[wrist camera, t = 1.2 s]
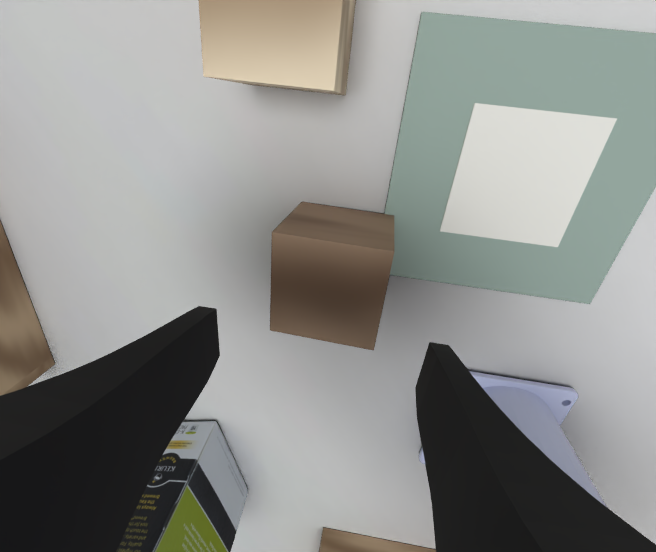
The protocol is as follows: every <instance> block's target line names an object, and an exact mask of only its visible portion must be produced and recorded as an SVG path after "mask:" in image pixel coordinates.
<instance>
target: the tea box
mask: <svg viewBox="0 0 656 552" xmlns="http://www.w3.org/2000/svg"><path fill="white" fill-rule="evenodd" d="M247 493H248V490H247V486H246V484H245V482H244V479H243V477H242V475H241V473H240V470H239V468H238V466H237V464H236V462H235V459H234V457H233V455H232V453H231V451H230V449H229V446H228V444H227V442H226V440H225V438H224V436H223V434H222V432H221V430H220V427H219V426H218V424H217V422H216V421H203V422H182V424H181V425H180V427H179V428H178V430H177V432H176V433H175V435H174V436H173V438H172V439H171V441H170V443H169V445H168V446H167V448H166V450H165V452H164V453H163V455H162V457H161V459H160V461H159V463H158V465H157V467H156V469H155V471H154V473H153V475H152V477H151V479H150V481H149V483H148V485H147V487H146V489H145V491H144V493H143V495H142V497H141V499H140V501H139V504H138V506H137V508H136V510H135V512H134V514H133V516H132V518H131V520H130V522H129V525H128V527H127V529H126V531H125V534H124V536H123V538H122V540H121V542H120V545H119V547H118V549H117V551H116V552H230V551H231V548H232V545H233V542H234V538H235V534H236V531H237V528H238V525H239V521H240V518H241V514H242V511H243V507H244V504H245V500H246V497H247Z"/></svg>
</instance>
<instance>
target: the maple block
mask: <svg viewBox="0 0 656 552" xmlns="http://www.w3.org/2000/svg"><path fill="white" fill-rule="evenodd" d="M355 4H356V0H199V14H200V29H201V44H202V58H203V73H204V77H210V78H215V79H221V80H227V81H232V82H238V83H244V84H249V85H257V86H266V87H275V88H284V89H293V90H302V91H311V92H320V93H329V94H338V95H346V87H347V78H348V68H349V59H350V50H351V41H352V32H353V23H354V13H355Z"/></svg>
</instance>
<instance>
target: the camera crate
mask: <svg viewBox="0 0 656 552" xmlns="http://www.w3.org/2000/svg"><path fill="white" fill-rule="evenodd" d="M319 552H436V550H434V549H429V548H424V547H419V546H414V545H409V544H404V543H399V542H394V541H389V540H384V539H379V538H374V537H369V536H364V535H359V534H354V533H349V532H344V531H339V530H334V529H328V528H323V532H322V537H321V543H320V549H319Z"/></svg>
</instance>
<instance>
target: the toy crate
mask: <svg viewBox="0 0 656 552" xmlns="http://www.w3.org/2000/svg"><path fill="white" fill-rule="evenodd" d="M54 364H55V363H54V360H53V357H52V355H51V352H50V350H49V347H48V344H47V342H46V339H45V337H44V334H43V331H42V329H41V326H40V323H39V321H38V318H37V316H36V313H35V310H34V308H33V305H32V303H31V300H30V297H29V295H28V292H27V289H26V287H25V284H24V282H23V279H22V276H21V274H20V271H19V269H18V266H17V263H16V261H15V258H14V256H13V253H12V250H11V248H10V245H9V242H8V240H7V237H6V235H5V232H4V229H3V227H2V224H1V222H0V396H1V395H4V394H7V393H11V392H14V391H17V390H20V389H23V388H25V387H27V386H28V385H29V384H31V383H32V382H33V381H34V380H36V379H37V378H38V377H39V376H41V375H42V374H43V373H44V372H46V371H47V370H48V369H49V368H51V367H52V366H53V365H54Z"/></svg>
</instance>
